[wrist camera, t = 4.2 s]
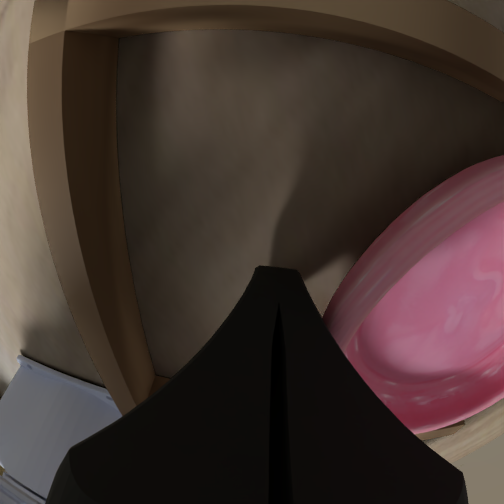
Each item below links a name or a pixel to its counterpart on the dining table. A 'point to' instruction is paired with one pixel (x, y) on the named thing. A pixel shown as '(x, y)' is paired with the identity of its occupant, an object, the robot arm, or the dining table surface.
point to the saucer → (431, 304)
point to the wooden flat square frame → (105, 132)
